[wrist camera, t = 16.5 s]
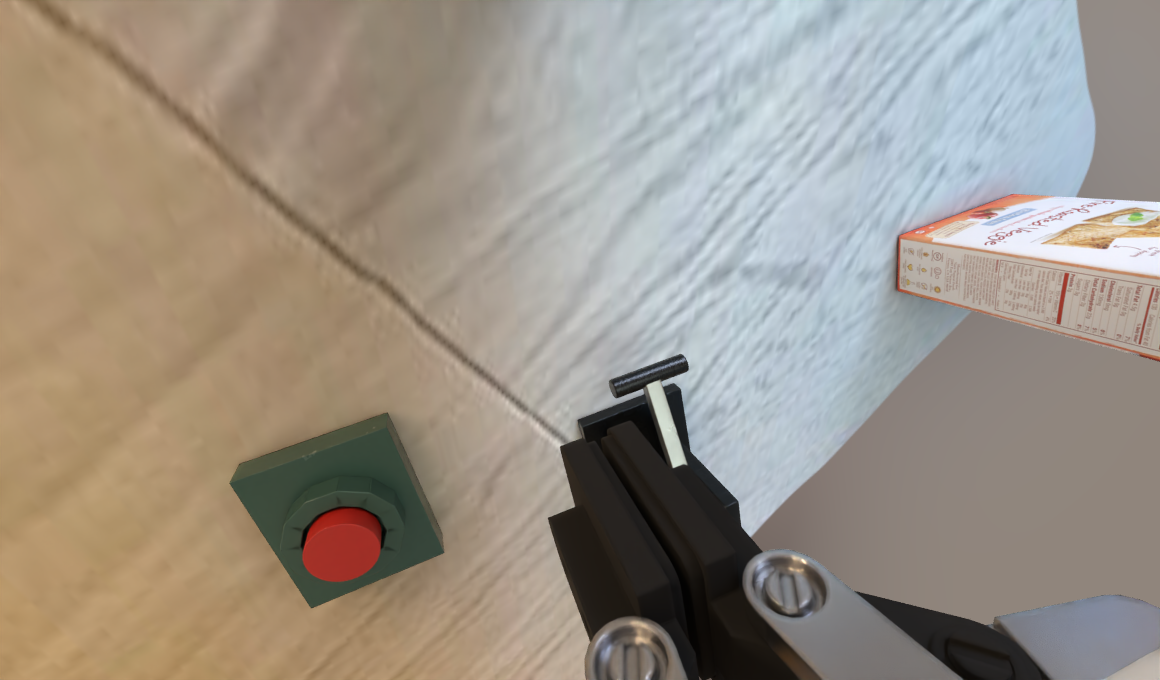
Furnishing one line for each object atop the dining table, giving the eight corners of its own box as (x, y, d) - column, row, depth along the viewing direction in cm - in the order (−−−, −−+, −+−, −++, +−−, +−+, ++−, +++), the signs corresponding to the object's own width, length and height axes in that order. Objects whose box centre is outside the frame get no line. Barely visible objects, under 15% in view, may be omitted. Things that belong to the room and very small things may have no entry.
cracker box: (1010, 188, 48) (1395, 210, 29) (1002, 248, 50) (1354, 304, 32) (895, 230, 45) (1241, 284, 26) (893, 292, 47) (1208, 380, 29)
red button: (294, 523, 32) (289, 542, 31) (366, 496, 33) (364, 513, 32) (324, 572, 34) (320, 592, 33) (391, 545, 35) (391, 563, 34)
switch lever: (604, 378, 35) (614, 381, 32) (674, 353, 36) (688, 354, 34) (660, 549, 36) (674, 564, 33) (726, 519, 37) (744, 531, 35)
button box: (239, 463, 34) (219, 500, 30) (387, 412, 36) (385, 440, 32) (315, 585, 38) (306, 629, 35) (442, 533, 40) (446, 570, 37)
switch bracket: (577, 419, 41) (637, 510, 30) (673, 382, 43) (761, 456, 32) (601, 510, 45) (661, 618, 35) (688, 473, 47) (770, 564, 36)
